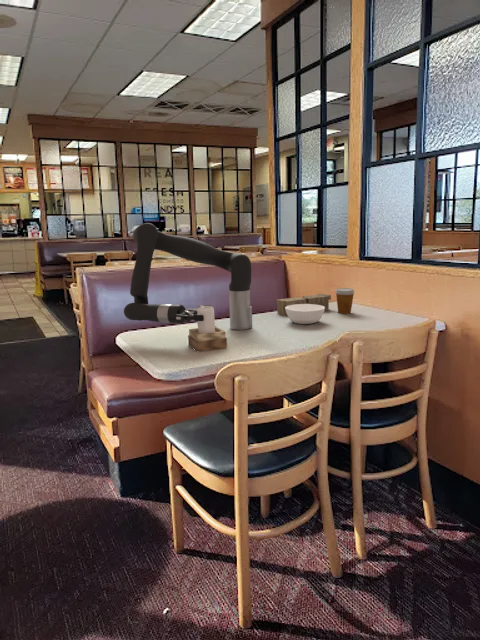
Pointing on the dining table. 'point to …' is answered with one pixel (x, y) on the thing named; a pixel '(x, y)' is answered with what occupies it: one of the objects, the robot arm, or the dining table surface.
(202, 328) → the can
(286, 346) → the dining table surface
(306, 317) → the bowl
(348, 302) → the disposable coffee cup
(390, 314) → the dining table surface
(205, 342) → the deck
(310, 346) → the dining table surface
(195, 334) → the square wooden tray
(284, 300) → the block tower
